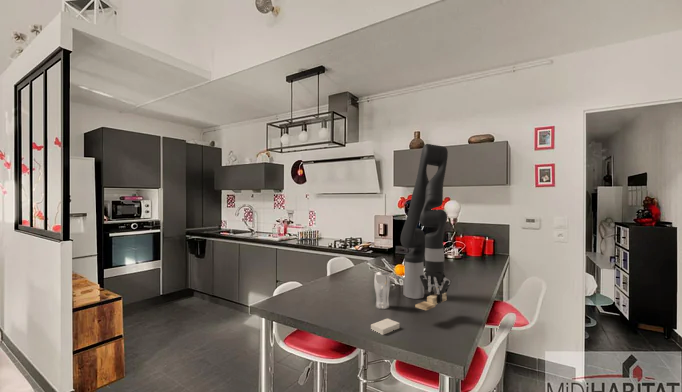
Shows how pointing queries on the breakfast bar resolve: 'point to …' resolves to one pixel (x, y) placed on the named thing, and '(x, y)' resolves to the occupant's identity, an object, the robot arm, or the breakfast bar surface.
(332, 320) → the breakfast bar surface
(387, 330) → the tile
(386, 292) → the beer glass
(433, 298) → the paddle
